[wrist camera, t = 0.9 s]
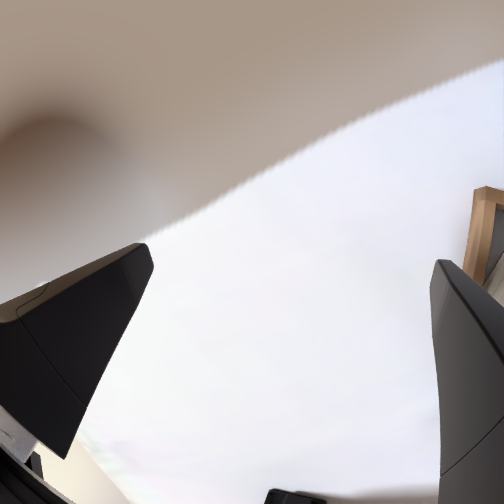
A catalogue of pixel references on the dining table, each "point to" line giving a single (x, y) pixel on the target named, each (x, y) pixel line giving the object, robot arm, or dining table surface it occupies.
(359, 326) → the dining table surface
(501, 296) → the supplement box
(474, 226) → the brown wooden frame
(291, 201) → the dining table surface
